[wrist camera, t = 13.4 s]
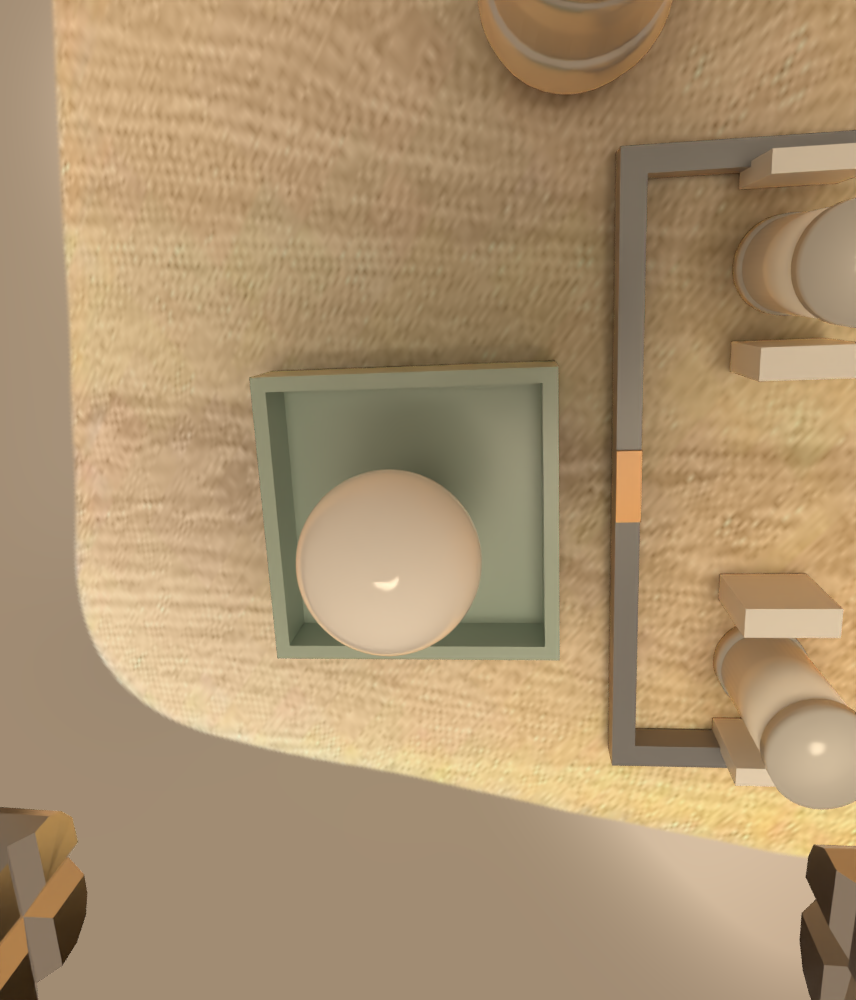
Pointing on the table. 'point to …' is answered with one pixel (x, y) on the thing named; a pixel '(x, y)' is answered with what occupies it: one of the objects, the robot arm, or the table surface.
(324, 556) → the lightbulb
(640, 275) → the rail
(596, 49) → the plastic bottle
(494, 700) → the table surface
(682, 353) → the table surface
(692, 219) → the table surface
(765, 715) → the cylinder
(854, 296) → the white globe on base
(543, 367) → the tray
